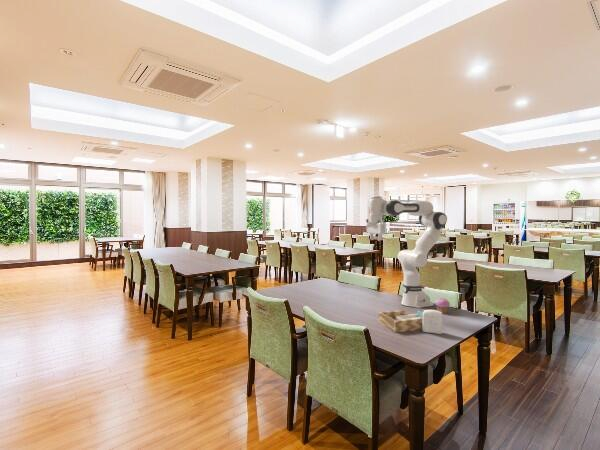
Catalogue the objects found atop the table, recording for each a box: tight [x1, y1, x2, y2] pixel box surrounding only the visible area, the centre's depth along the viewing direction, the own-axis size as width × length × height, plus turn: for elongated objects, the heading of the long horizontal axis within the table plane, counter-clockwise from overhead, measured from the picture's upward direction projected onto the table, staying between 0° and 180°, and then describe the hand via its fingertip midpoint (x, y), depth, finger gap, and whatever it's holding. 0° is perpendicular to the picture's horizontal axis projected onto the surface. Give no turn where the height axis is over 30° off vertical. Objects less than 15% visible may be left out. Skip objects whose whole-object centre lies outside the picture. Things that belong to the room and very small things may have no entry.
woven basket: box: [377, 309, 423, 333], centre depth 184 cm, size 18×18×6 cm
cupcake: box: [434, 297, 451, 314], centre depth 208 cm, size 9×9×10 cm
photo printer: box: [421, 309, 444, 335], centre depth 173 cm, size 10×4×12 cm, turn 72°
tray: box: [395, 309, 424, 321], centre depth 186 cm, size 17×14×4 cm
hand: (375, 240), depth 216 cm, fingers open, 8 cm apart
